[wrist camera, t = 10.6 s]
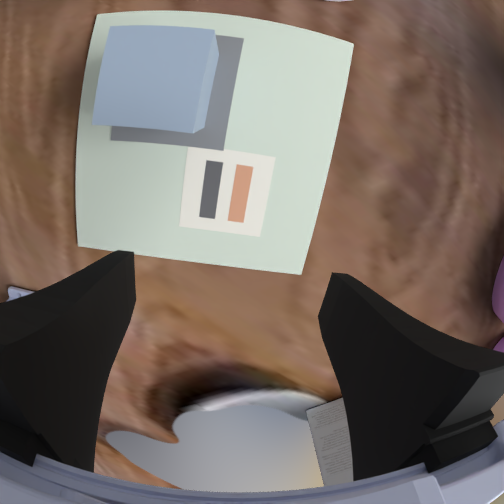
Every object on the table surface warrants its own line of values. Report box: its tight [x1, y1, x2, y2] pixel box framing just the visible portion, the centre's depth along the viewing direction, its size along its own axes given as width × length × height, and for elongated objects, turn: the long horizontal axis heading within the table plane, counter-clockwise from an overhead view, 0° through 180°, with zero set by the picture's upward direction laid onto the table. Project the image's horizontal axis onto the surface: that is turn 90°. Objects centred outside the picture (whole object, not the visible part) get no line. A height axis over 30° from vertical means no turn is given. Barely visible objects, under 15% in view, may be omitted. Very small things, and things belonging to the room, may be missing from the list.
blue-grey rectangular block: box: [92, 25, 219, 133], centre depth 12 cm, size 4×4×6 cm
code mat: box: [76, 11, 354, 275], centre depth 17 cm, size 16×16×1 cm
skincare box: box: [306, 397, 353, 486], centre depth 24 cm, size 6×4×12 cm
